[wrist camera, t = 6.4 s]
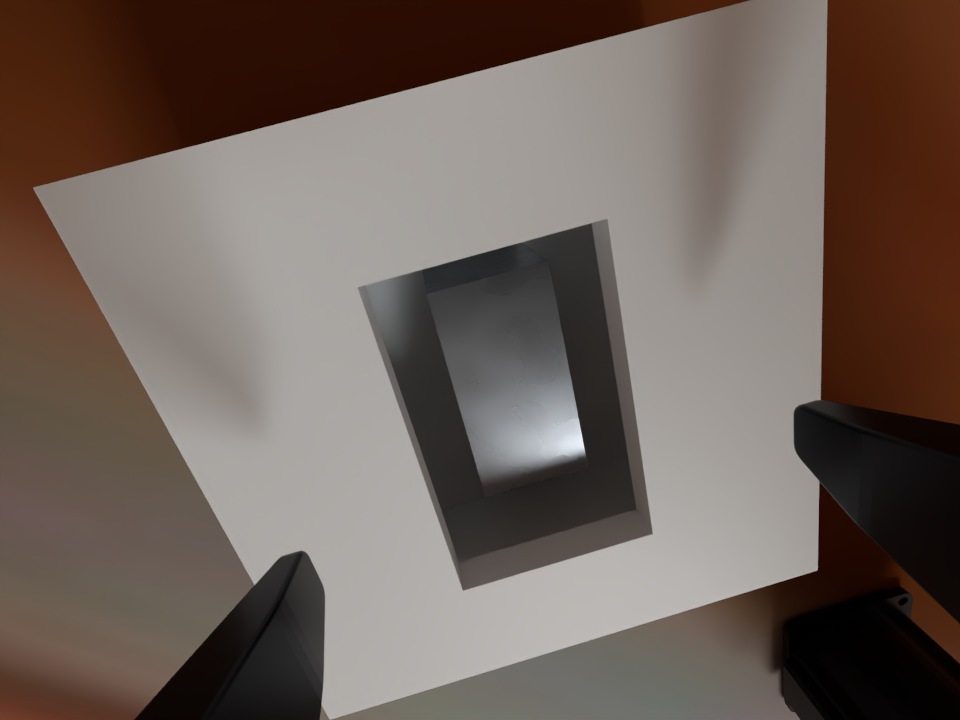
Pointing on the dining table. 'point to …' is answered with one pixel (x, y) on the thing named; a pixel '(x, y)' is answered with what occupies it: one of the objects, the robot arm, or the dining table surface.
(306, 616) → the robot arm
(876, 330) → the dining table surface
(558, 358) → the silver metal block
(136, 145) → the dining table surface
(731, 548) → the box
